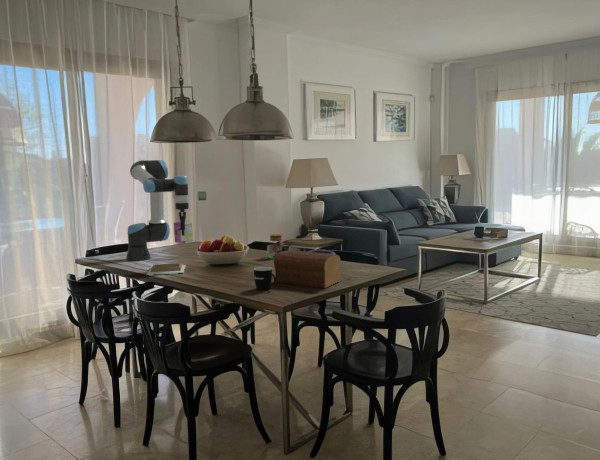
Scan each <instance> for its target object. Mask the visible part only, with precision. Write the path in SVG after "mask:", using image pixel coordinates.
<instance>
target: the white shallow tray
mask: <svg viewBox="0 0 600 460" xmlns="http://www.w3.org/2000/svg"><path fill="white" fill-rule="evenodd" d="M184 269H186V264H182V262H179V263H177V262H176V263H158V264H157V263H156V264H152V265H151V266H150V267H149V270H148V271H147V272H146V276H147V275H149V276H154V275H153V274H169V275H178V274H177V273H183V274H184V273H185V270H184Z"/></svg>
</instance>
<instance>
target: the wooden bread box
mask: <svg viewBox="0 0 600 460" xmlns="http://www.w3.org/2000/svg"><path fill="white" fill-rule="evenodd" d="M335 254H336V253H335ZM335 254H327V253H314V252H308V251H304V250H303V251H301V250H290V249H289V250H284V251H283V250H282V252H280V253H278V254H277V255H276V256H275V257H274V259H273V265H274V273H275V274H274V275H275V277H276V282H275V283H278V284H287V285H288V284H289V285H293V286H301V287H303V286H304V287H309V288H310V287H312V288H319V289H320V288H322V289H326V288H329V287H332V286H334V285H336V284H338V283H340V273H341V272H340V269H341V257H340V255H338V254H336V255H335ZM337 282H338V283H337ZM335 283H336V284H335ZM333 284H334V285H333ZM331 285H332V286H331Z"/></svg>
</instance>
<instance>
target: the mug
mask: <svg viewBox="0 0 600 460" xmlns="http://www.w3.org/2000/svg"><path fill="white" fill-rule="evenodd" d="M253 277H254V278H253V280H254V283H255V285H254V286H255V289H256V290H257V291H268V290H270V289H271V287H272V286H274V285H275V284H276V283H277V282H276V277H275V274H274V273H273V267H269V266H260V267H259V266H258V267H254V268H253ZM272 280H273V282H272Z"/></svg>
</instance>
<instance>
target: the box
mask: <svg viewBox="0 0 600 460" xmlns="http://www.w3.org/2000/svg"><path fill="white" fill-rule="evenodd" d="M179 228H180V221H177V222H176V221H175V222H173V234H174V242H175V243H179V244H190V243H191V244H192V243H194V237H193V223H192V222H187V221H185V235H186V241H181V231H180V230H179Z"/></svg>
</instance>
